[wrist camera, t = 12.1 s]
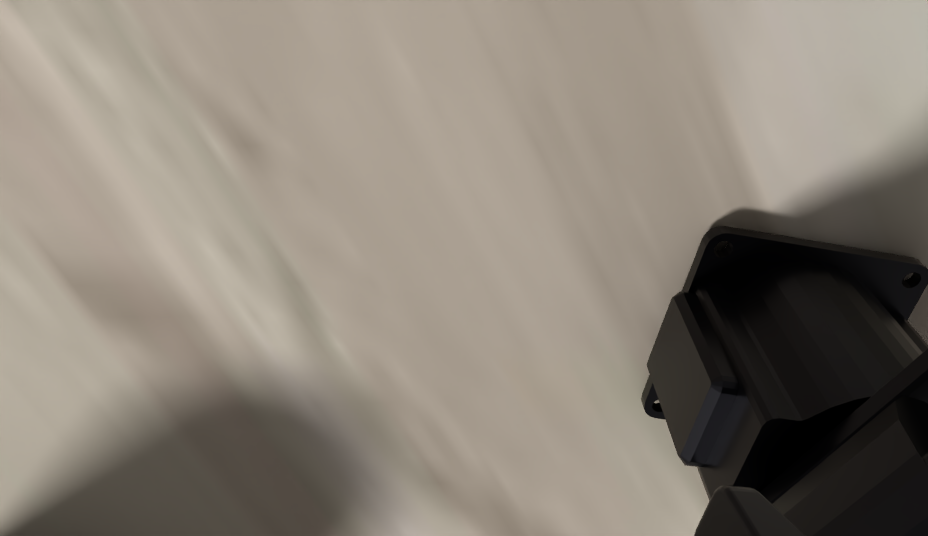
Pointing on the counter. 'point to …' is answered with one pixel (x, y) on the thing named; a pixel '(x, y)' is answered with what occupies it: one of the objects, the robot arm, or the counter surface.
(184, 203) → the counter surface
